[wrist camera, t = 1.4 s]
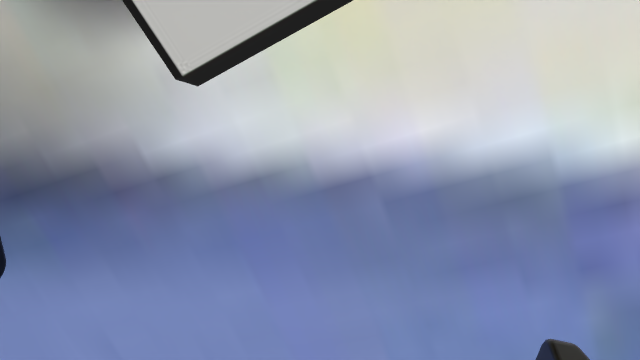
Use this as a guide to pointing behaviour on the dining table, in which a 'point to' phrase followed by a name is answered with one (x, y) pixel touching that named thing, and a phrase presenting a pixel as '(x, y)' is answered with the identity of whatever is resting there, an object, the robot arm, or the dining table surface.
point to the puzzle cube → (220, 30)
